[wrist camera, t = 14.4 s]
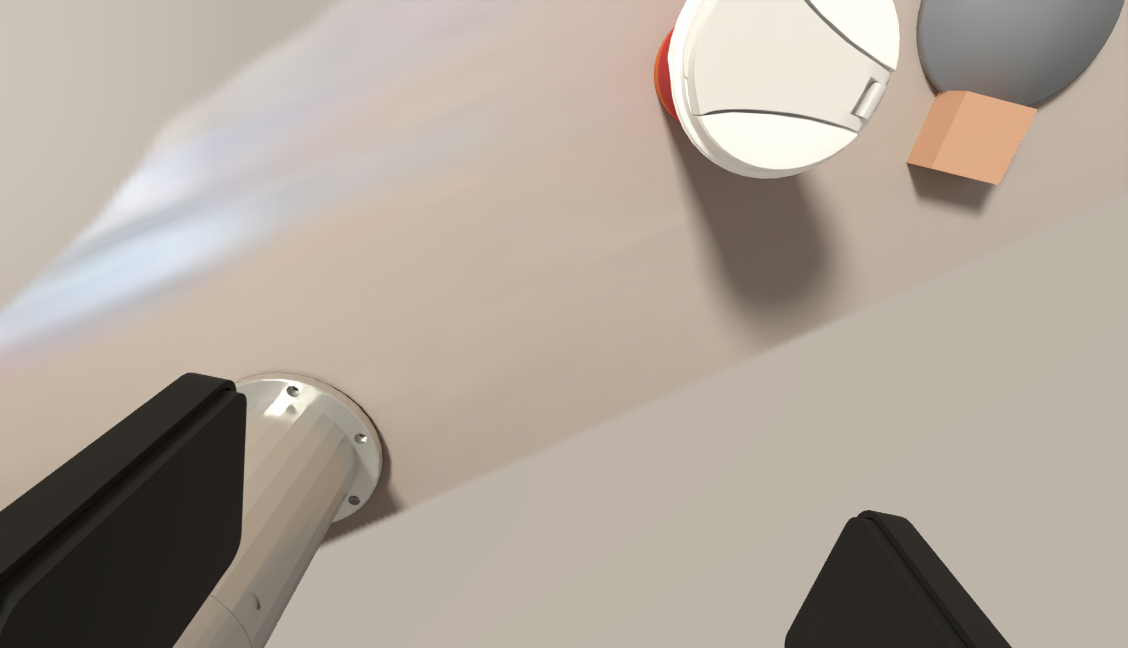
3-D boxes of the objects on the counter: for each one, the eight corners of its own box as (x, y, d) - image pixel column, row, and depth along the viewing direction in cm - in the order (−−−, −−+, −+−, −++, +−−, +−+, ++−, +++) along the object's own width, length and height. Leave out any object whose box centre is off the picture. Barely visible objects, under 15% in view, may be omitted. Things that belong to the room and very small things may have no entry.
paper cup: (800, 27, 31) (966, -12, 18) (732, 164, 34) (833, 216, 21) (668, -35, 30) (743, -124, 17) (609, 112, 32) (635, 132, 20)
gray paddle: (973, -129, 28) (1009, -148, 26) (1156, -76, 29) (1207, -89, 27) (858, 150, 33) (879, 155, 31) (1015, 189, 34) (1048, 197, 32)
